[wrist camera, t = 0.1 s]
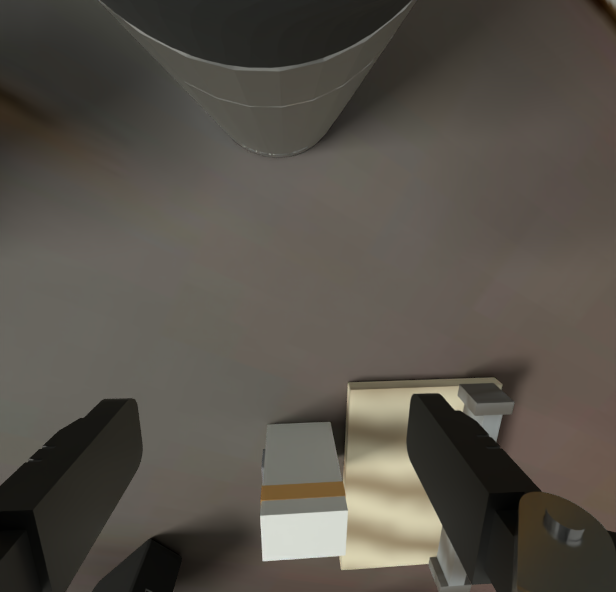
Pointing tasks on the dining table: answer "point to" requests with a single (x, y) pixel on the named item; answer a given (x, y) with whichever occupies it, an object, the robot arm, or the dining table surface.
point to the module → (302, 493)
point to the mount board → (403, 475)
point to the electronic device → (143, 571)
